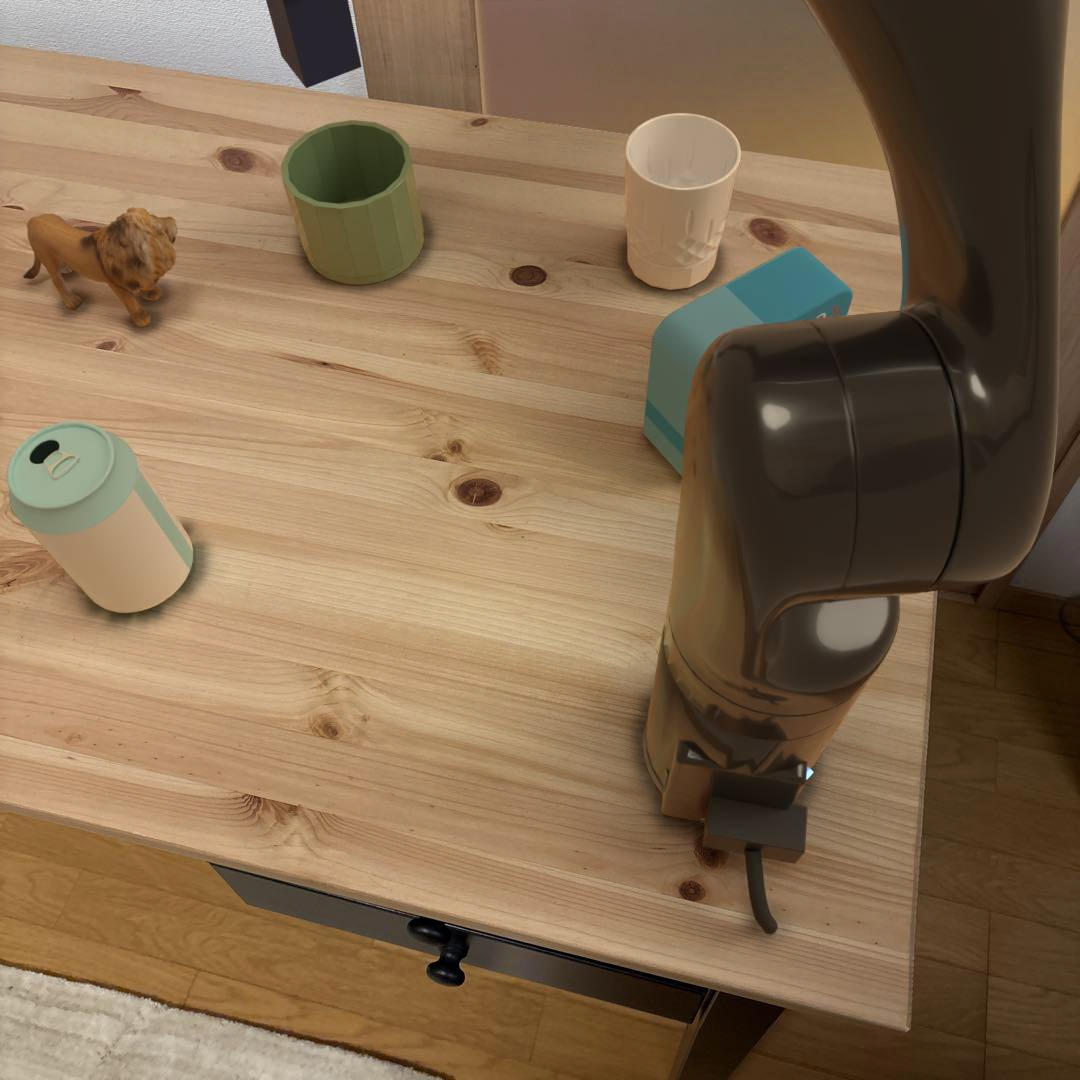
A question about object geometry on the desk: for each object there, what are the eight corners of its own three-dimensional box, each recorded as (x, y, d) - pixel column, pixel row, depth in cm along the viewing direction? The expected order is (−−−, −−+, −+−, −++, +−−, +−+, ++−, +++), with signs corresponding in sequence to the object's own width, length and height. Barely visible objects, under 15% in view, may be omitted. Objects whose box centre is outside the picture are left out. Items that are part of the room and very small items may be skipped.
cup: (406, 291, 76) (391, 214, 70) (289, 277, 77) (263, 199, 71) (436, 207, 81) (424, 127, 74) (325, 194, 82) (304, 114, 75)
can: (74, 617, 63) (-24, 517, 53) (100, 522, 66) (13, 410, 56) (185, 617, 63) (109, 516, 52) (205, 521, 66) (137, 409, 56)
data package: (680, 487, 66) (699, 370, 56) (639, 442, 68) (651, 320, 58) (817, 405, 70) (860, 280, 59) (775, 364, 72) (809, 236, 61)
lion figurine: (215, 286, 77) (175, 192, 69) (188, 337, 75) (143, 245, 67) (42, 259, 79) (-15, 165, 71) (10, 308, 77) (-54, 216, 69)
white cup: (622, 220, 79) (628, 110, 71) (722, 224, 79) (740, 114, 70) (616, 294, 75) (622, 187, 67) (722, 299, 75) (741, 191, 66)
